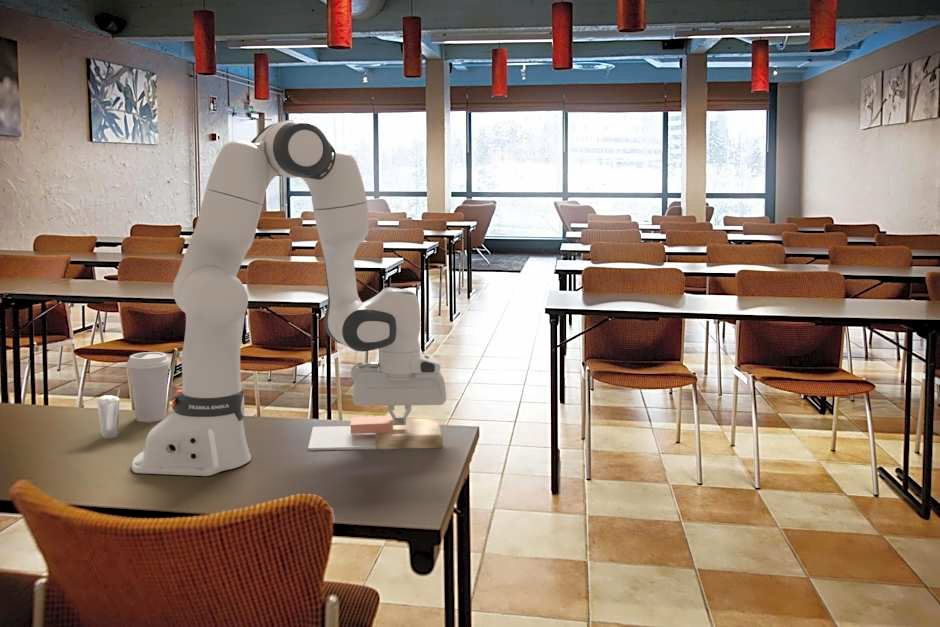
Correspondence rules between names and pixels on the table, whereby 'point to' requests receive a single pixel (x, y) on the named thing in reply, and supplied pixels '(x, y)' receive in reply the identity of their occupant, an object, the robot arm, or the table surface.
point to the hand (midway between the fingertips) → (399, 424)
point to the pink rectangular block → (371, 424)
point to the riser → (412, 435)
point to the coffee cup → (149, 385)
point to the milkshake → (108, 415)
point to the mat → (340, 439)
